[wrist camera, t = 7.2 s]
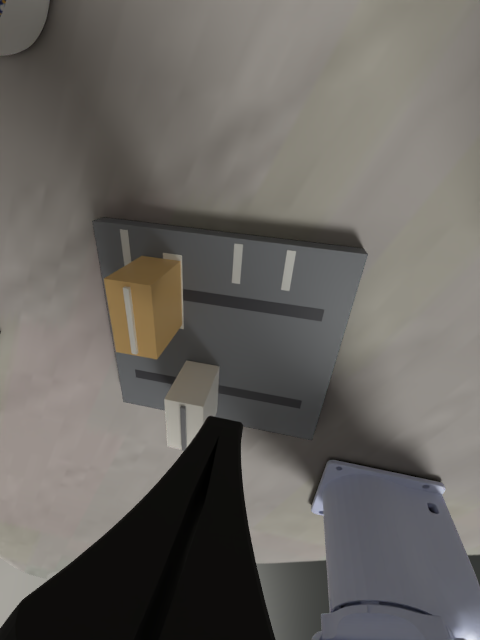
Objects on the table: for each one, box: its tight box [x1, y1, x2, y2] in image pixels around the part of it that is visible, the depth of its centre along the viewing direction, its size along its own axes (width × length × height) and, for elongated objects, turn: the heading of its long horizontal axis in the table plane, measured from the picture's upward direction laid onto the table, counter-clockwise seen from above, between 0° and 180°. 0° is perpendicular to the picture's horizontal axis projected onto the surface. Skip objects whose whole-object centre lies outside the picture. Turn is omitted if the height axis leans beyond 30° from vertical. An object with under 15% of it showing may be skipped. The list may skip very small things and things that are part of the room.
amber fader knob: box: [104, 256, 182, 359], centre depth 17 cm, size 2×4×4 cm, turn 175°
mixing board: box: [92, 217, 368, 440], centre depth 21 cm, size 16×15×1 cm
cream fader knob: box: [164, 360, 219, 451], centre depth 20 cm, size 2×4×4 cm, turn 176°
